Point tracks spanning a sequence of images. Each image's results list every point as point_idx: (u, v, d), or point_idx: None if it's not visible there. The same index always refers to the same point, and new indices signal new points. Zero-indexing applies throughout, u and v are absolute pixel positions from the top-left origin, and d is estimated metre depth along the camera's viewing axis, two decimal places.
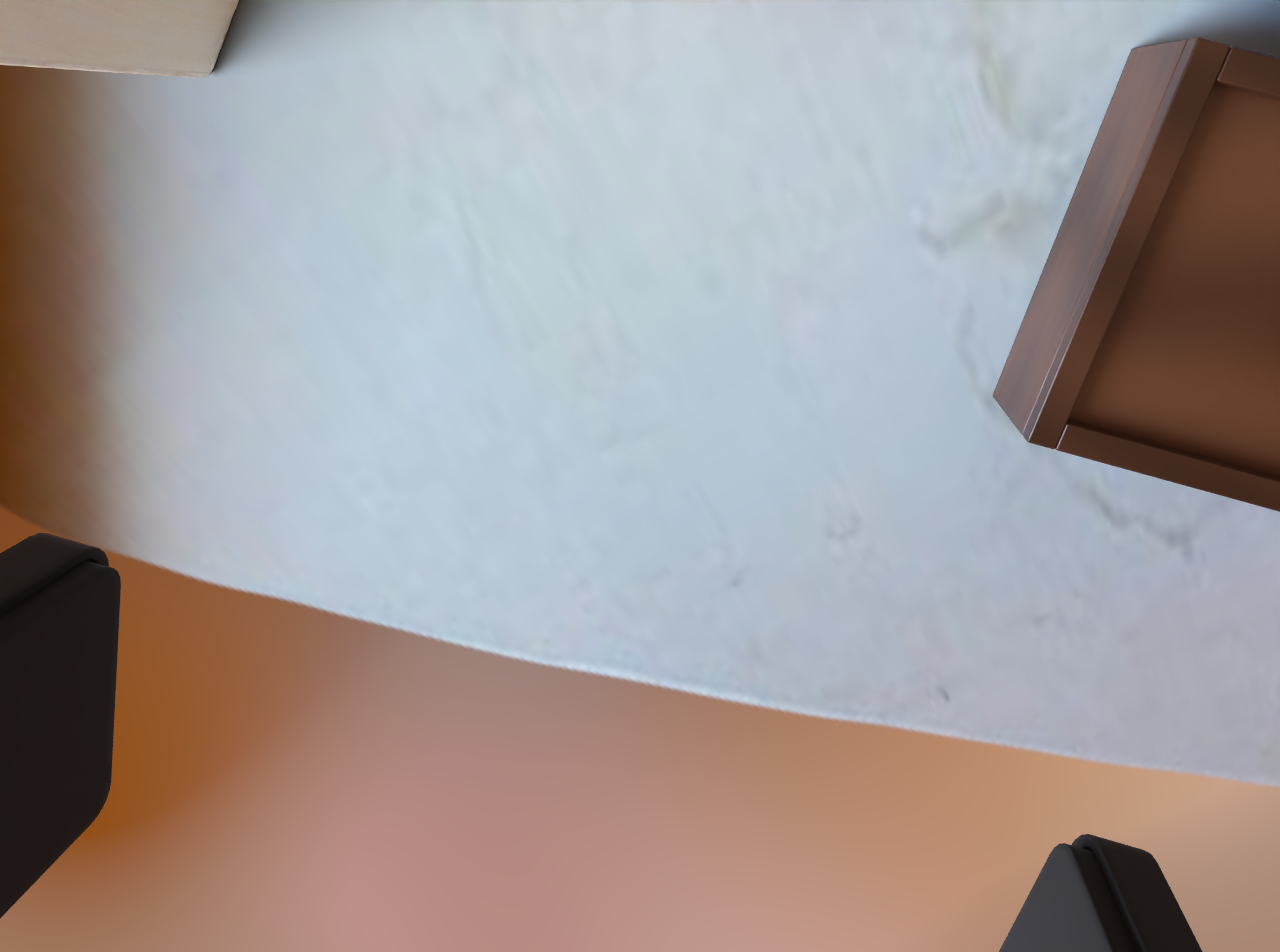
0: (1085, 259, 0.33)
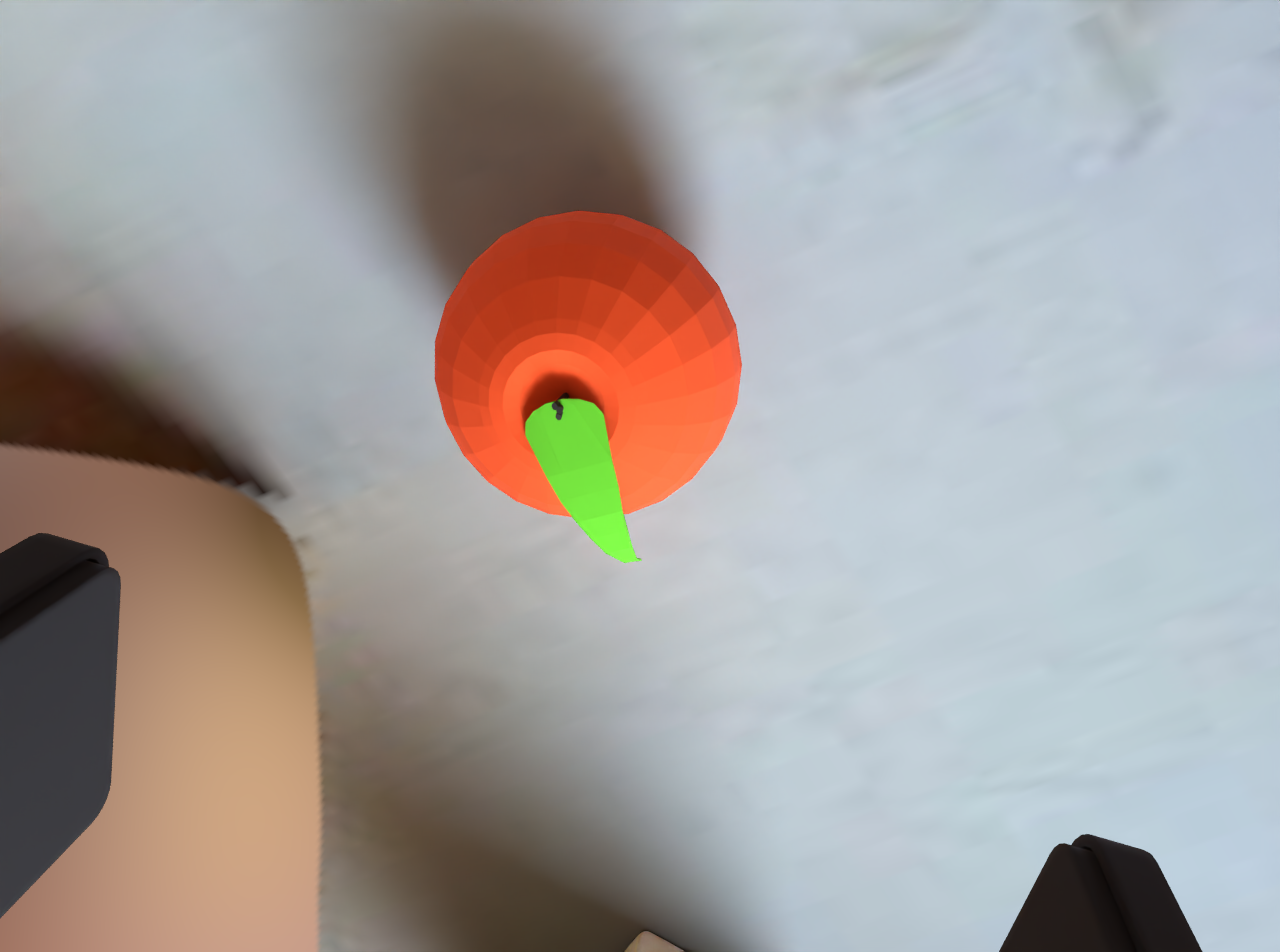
0: None
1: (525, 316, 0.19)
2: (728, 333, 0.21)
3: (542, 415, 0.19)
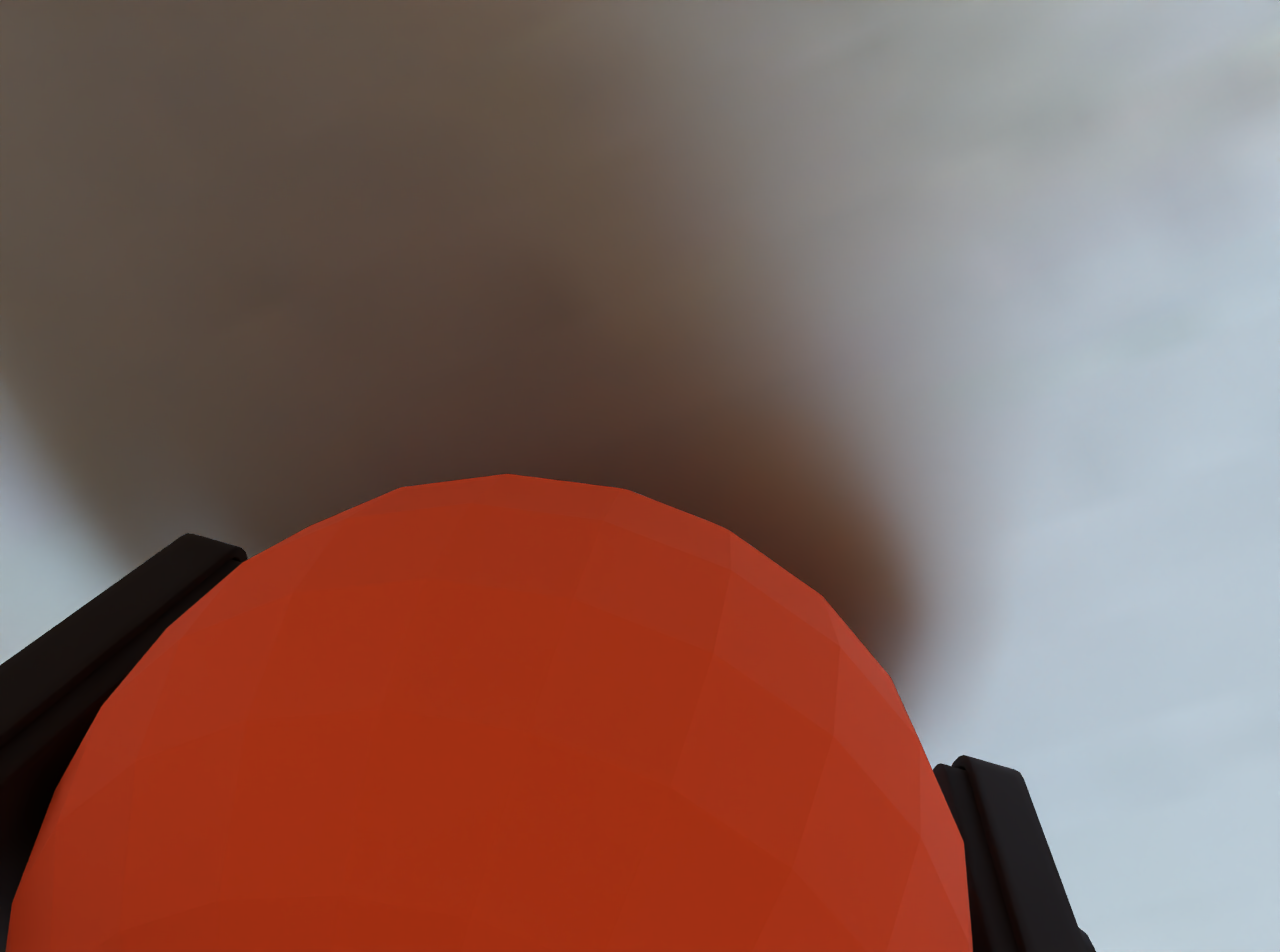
0: None
1: None
2: (965, 934, 0.06)
3: None
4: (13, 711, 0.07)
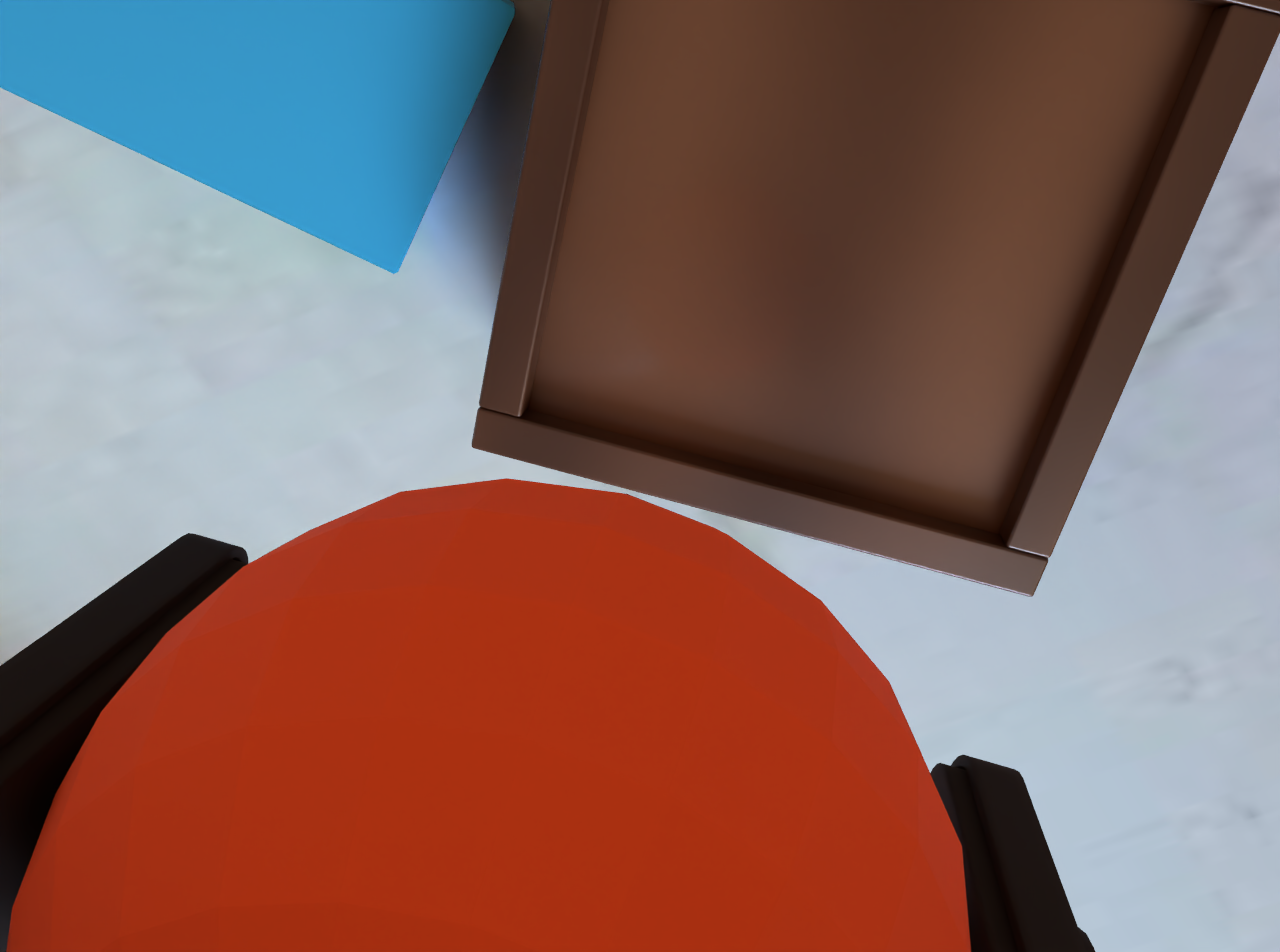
0: None
1: None
2: (963, 939, 0.06)
3: None
4: (14, 711, 0.07)
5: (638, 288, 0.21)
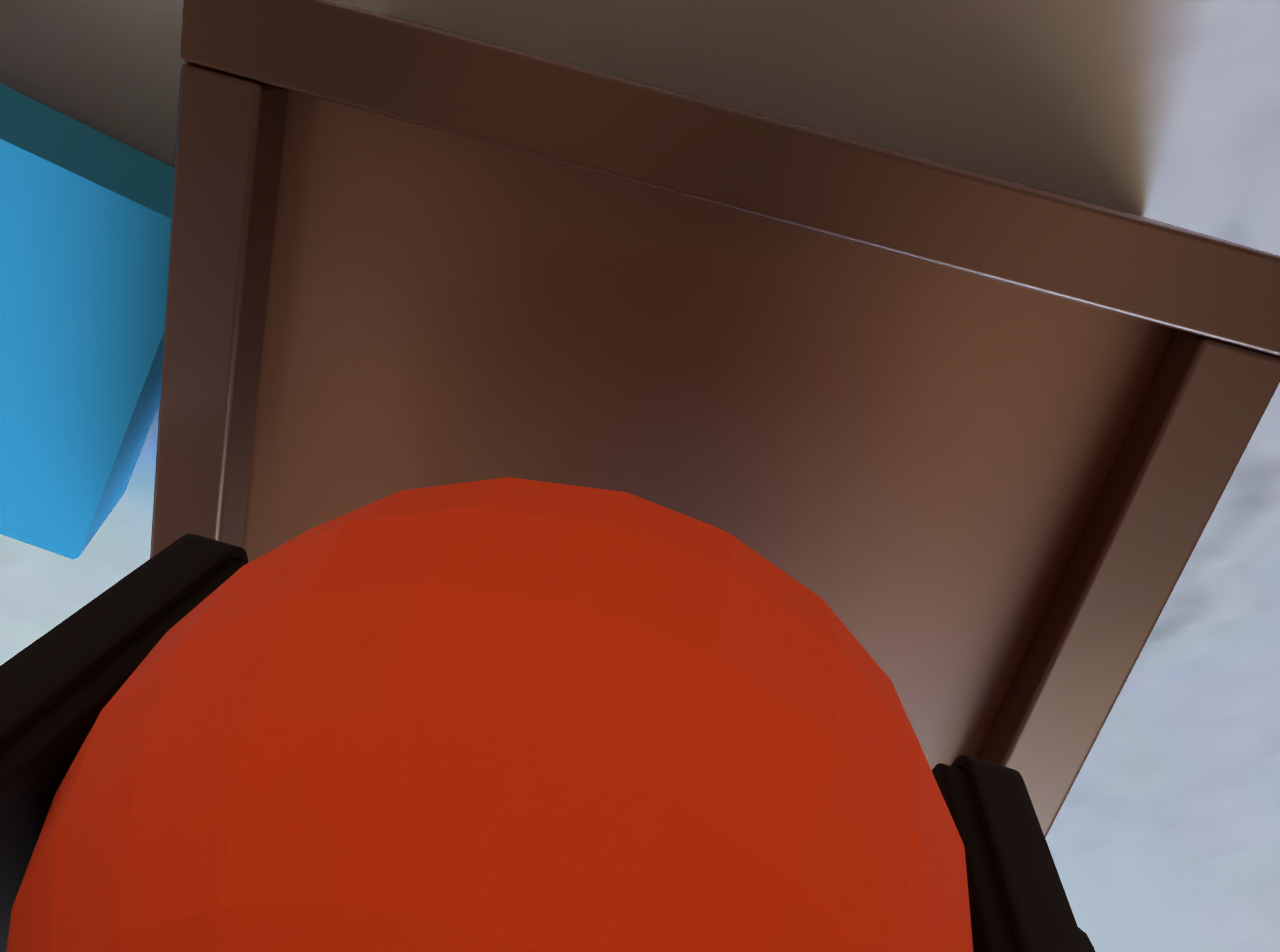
0: None
1: None
2: (966, 939, 0.06)
3: None
4: (14, 711, 0.07)
5: None
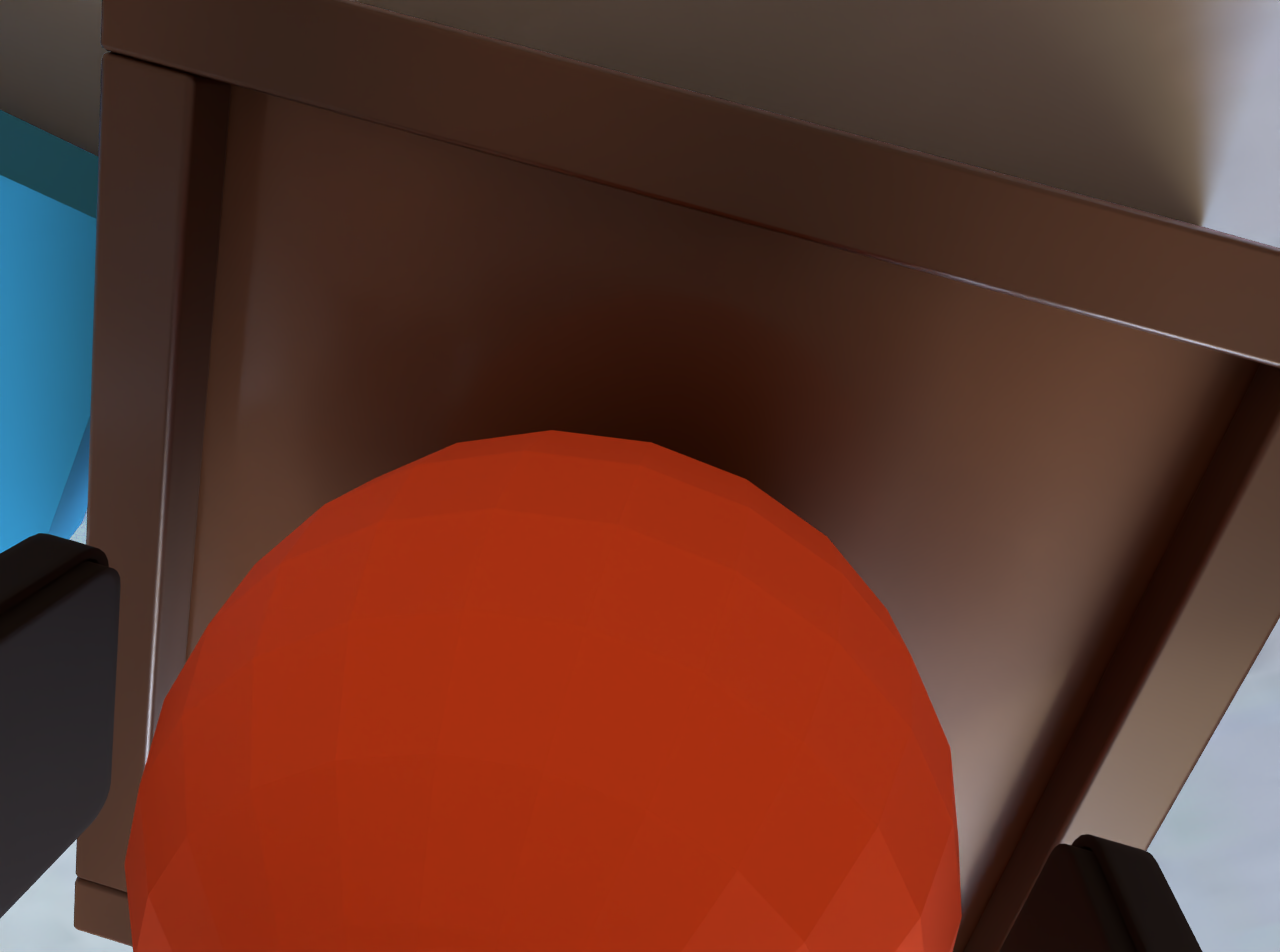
0: None
1: (319, 895, 0.06)
2: (950, 816, 0.07)
3: None
4: None
5: None
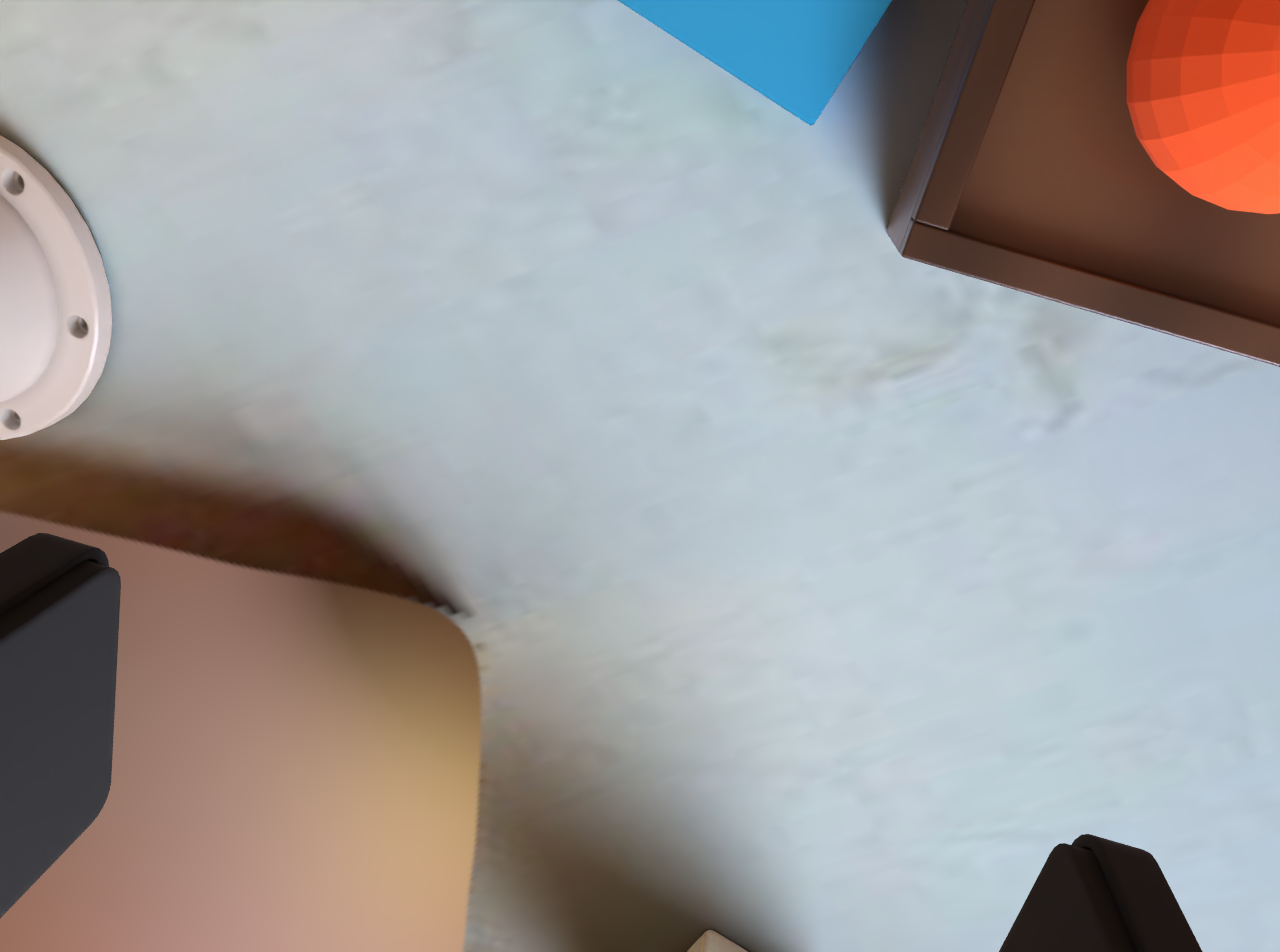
0: None
1: None
2: None
3: None
4: None
5: (1056, 126, 0.26)
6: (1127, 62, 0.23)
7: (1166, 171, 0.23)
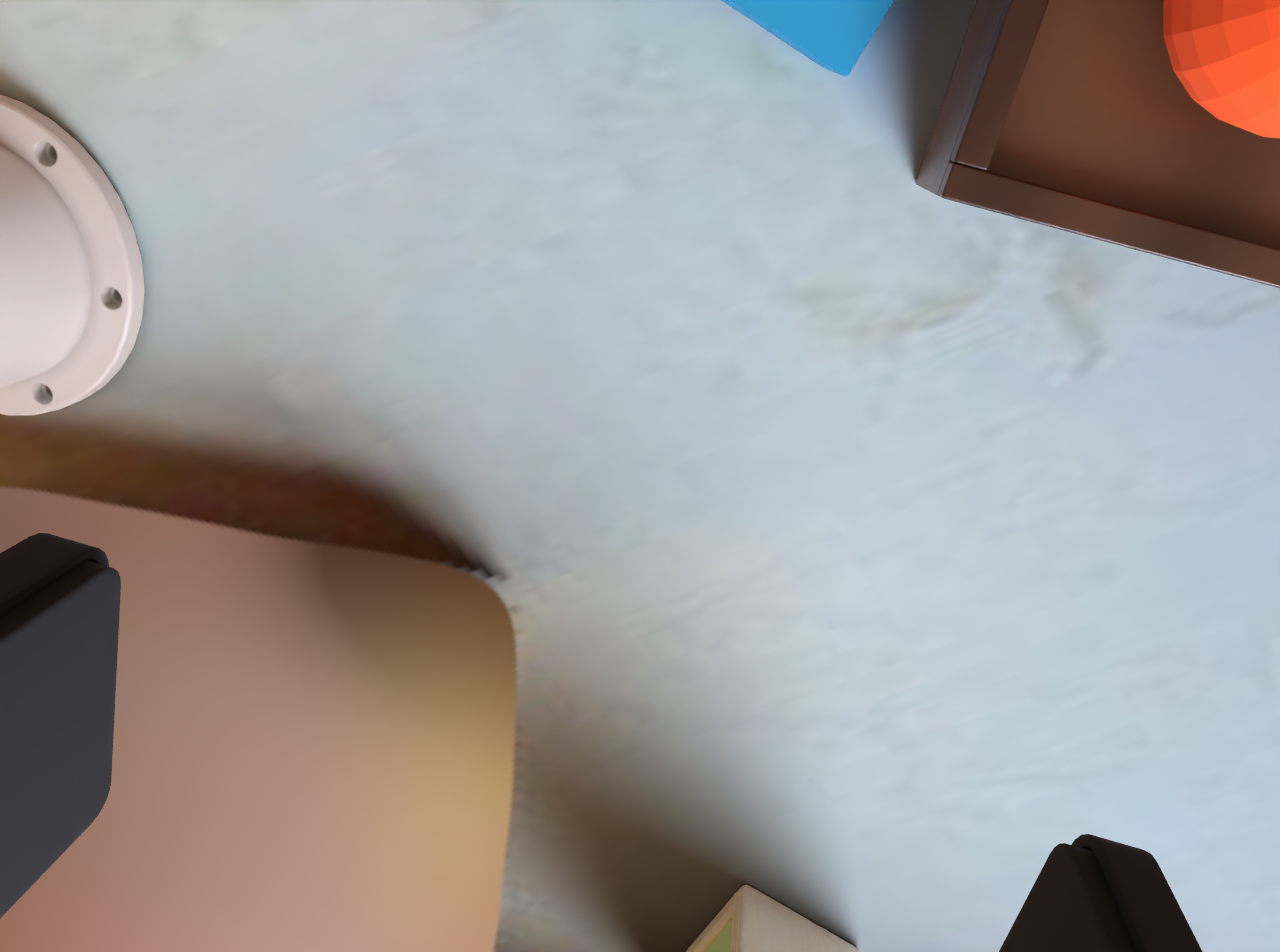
0: None
1: None
2: None
3: None
4: None
5: (1089, 66, 0.27)
6: None
7: (1204, 100, 0.24)
